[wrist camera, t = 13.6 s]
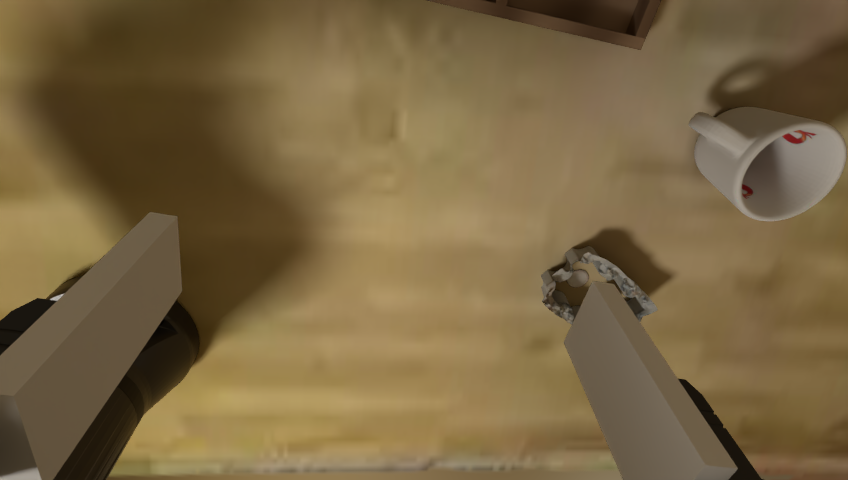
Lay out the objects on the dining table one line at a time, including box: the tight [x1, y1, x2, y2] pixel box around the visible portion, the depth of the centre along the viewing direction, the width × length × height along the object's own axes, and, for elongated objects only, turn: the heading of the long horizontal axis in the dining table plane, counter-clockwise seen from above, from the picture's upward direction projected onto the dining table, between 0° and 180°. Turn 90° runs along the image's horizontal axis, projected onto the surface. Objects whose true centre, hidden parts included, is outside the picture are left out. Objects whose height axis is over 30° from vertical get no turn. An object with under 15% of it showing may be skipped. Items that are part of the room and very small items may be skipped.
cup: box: [689, 107, 847, 221], centre depth 37 cm, size 11×8×8 cm
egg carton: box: [541, 246, 657, 324], centre depth 47 cm, size 11×8×4 cm
